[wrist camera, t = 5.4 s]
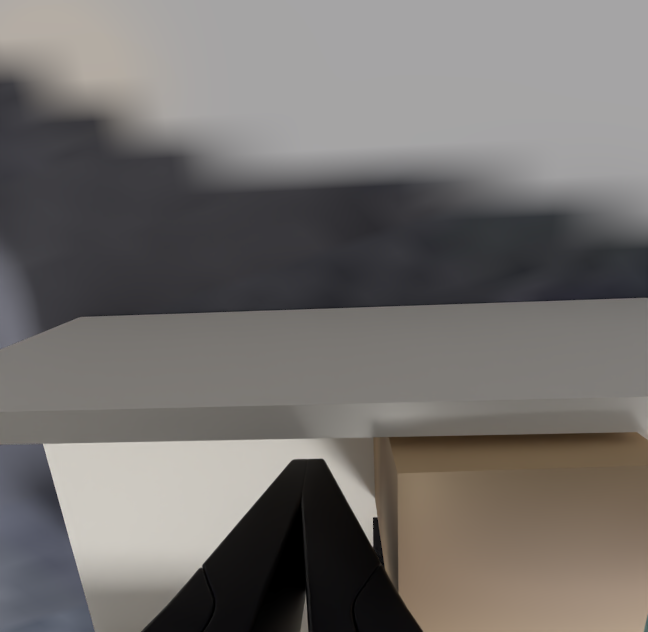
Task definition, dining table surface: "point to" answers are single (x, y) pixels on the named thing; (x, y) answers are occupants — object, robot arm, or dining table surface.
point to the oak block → (516, 530)
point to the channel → (287, 413)
